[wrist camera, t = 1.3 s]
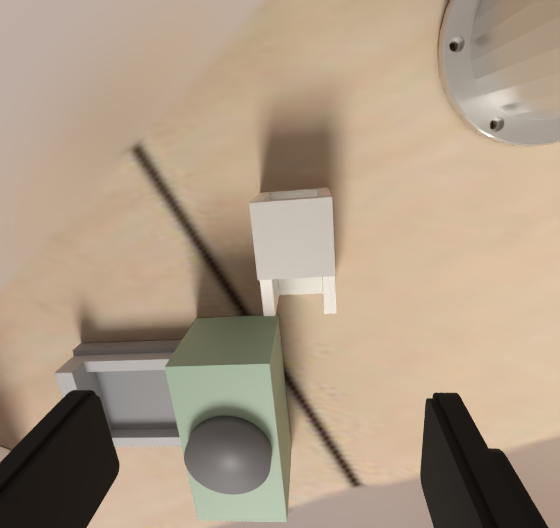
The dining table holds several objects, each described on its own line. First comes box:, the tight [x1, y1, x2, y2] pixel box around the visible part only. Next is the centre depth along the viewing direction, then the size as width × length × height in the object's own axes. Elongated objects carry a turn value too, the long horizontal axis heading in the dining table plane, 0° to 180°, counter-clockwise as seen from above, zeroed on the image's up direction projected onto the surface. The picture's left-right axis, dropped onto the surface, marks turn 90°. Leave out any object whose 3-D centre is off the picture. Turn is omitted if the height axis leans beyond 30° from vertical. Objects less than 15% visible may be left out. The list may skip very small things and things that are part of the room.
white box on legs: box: [249, 187, 336, 316], centre depth 25 cm, size 8×5×5 cm, turn 5°
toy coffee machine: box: [54, 315, 292, 522], centre depth 29 cm, size 18×14×8 cm
